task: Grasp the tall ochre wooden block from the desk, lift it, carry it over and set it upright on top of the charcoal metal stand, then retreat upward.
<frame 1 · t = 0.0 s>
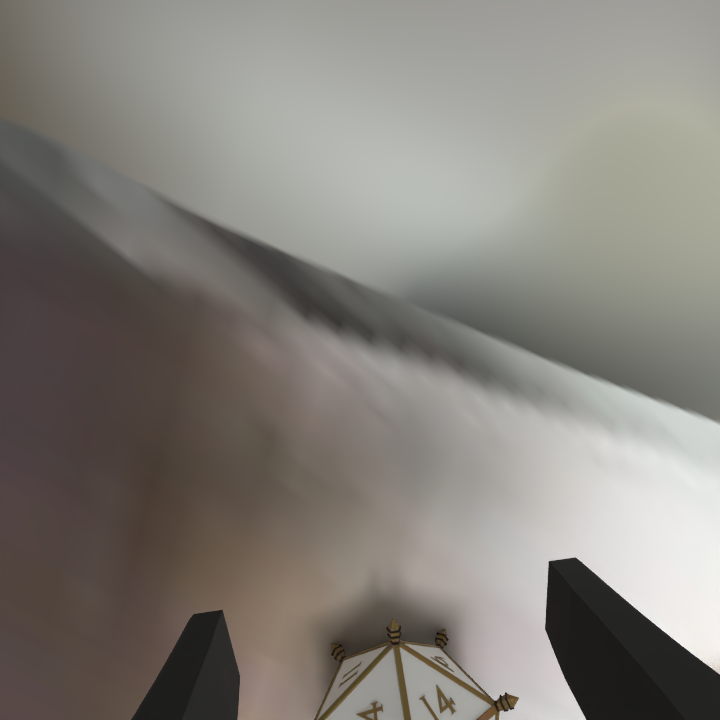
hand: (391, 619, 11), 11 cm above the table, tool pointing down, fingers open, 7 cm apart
game die: (390, 661, 24), on the table
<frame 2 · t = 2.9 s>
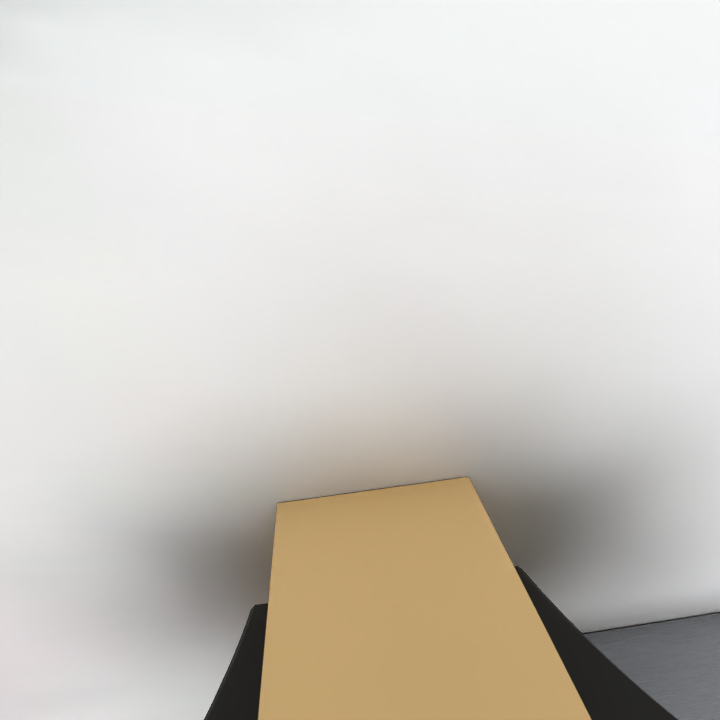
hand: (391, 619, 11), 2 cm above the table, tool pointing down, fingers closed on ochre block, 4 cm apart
ochre block: (381, 564, 13), on the table, touching gripper
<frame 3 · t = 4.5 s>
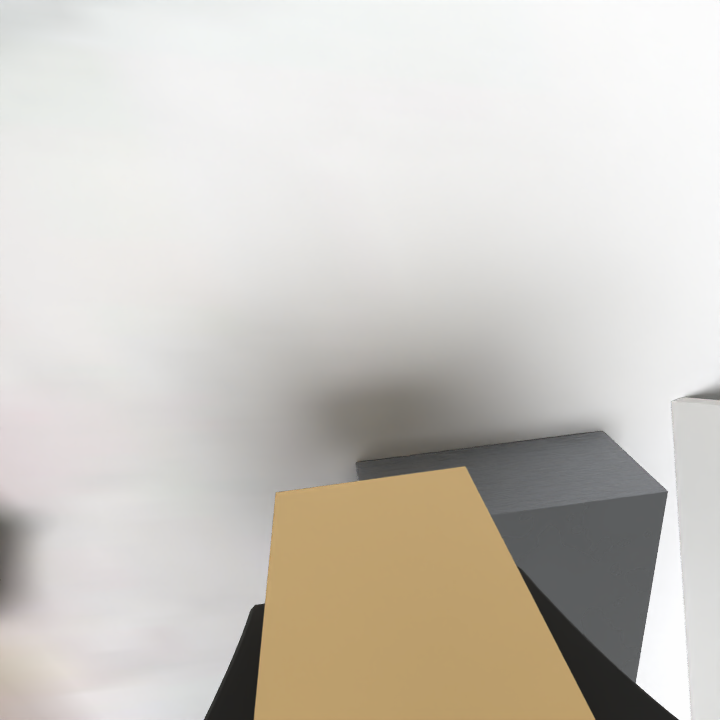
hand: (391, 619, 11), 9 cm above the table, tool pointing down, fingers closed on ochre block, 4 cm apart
ochre block: (379, 554, 13), point 7 cm above the table, touching gripper
charcoal stand: (480, 545, 22), on the table
when the fingers open (7 cm above the table, at t = 6.2 s): ochre block drops 1 cm, resting on charcoal stand.
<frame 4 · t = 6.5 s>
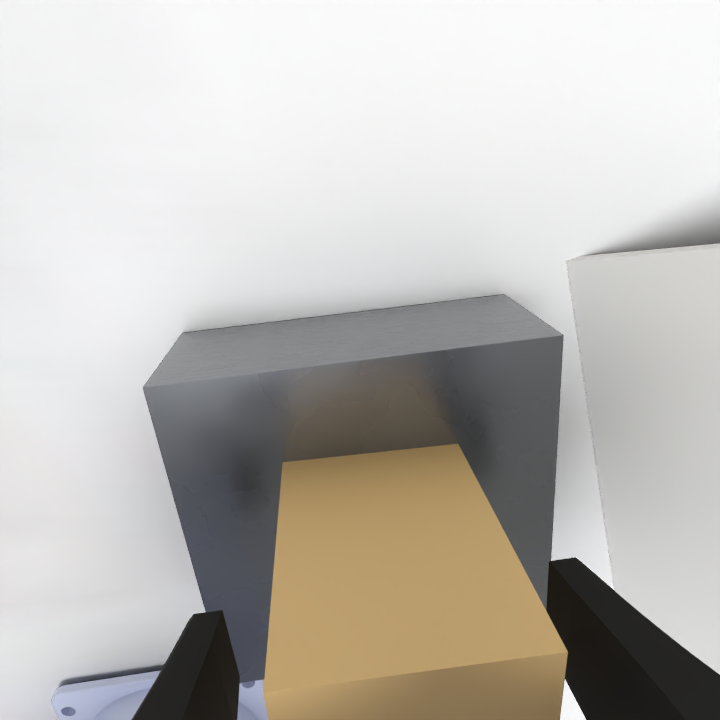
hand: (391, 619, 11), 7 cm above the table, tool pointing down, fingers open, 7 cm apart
ochre block: (375, 524, 14), point 4 cm above the table, touching charcoal stand
charcoal stand: (361, 452, 18), on the table
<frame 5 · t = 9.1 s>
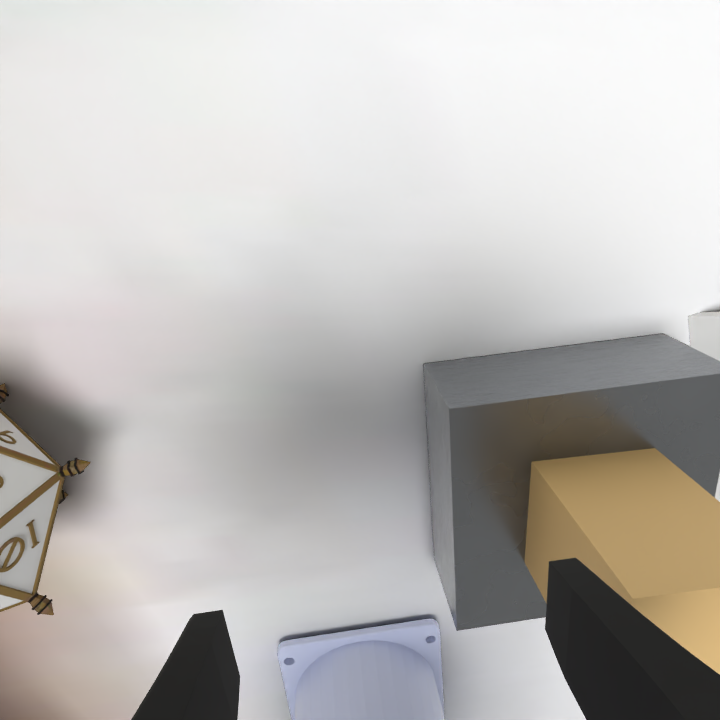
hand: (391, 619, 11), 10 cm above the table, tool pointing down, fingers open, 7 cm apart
ochre block: (587, 507, 19), point 4 cm above the table, touching charcoal stand
charcoal stand: (540, 453, 23), on the table
game die: (3, 449, 20), on the table
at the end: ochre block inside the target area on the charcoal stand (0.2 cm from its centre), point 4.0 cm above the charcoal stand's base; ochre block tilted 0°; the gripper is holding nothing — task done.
